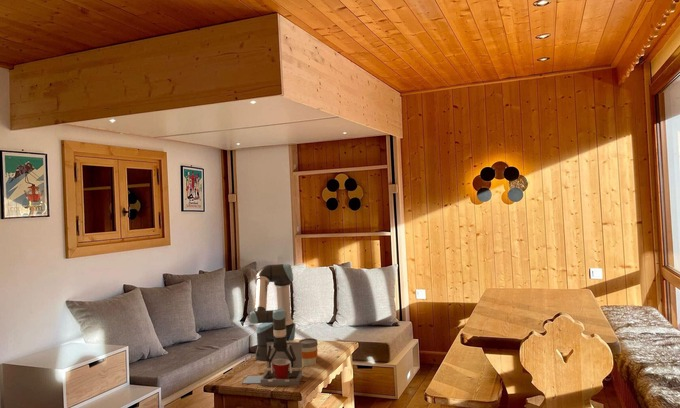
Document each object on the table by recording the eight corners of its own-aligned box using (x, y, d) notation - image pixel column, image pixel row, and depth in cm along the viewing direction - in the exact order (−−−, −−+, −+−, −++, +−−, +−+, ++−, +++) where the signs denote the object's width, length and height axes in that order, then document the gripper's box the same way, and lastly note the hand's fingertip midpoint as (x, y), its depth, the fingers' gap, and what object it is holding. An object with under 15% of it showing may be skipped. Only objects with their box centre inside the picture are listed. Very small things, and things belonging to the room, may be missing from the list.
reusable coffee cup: (316, 367, 343) (315, 343, 343) (297, 366, 346) (296, 343, 346) (320, 360, 356) (319, 338, 355) (302, 360, 358) (301, 338, 358)
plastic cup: (287, 384, 315) (286, 364, 314) (270, 383, 317) (269, 363, 317) (293, 377, 325) (292, 358, 325) (276, 377, 328) (275, 357, 328)
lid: (266, 370, 329) (267, 369, 331) (301, 370, 327) (302, 369, 329) (266, 342, 332) (267, 342, 333) (301, 342, 329) (301, 342, 331)
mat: (247, 376, 330) (247, 376, 330) (265, 376, 329) (265, 375, 329) (242, 384, 318) (242, 383, 318) (260, 383, 317) (260, 382, 317)
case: (267, 376, 330) (266, 370, 330) (302, 375, 328) (302, 370, 328) (260, 386, 313) (260, 380, 313) (297, 386, 311) (297, 380, 311)
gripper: (259, 337, 318) (261, 374, 318) (298, 337, 316) (299, 374, 316) (262, 334, 325) (264, 370, 326) (300, 333, 323) (301, 370, 324)
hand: (281, 372), depth 321 cm, fingers closed on plastic cup, 11 cm apart
